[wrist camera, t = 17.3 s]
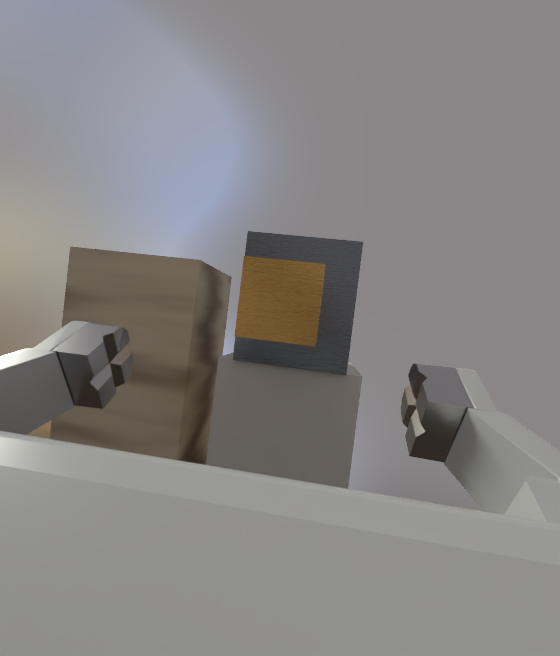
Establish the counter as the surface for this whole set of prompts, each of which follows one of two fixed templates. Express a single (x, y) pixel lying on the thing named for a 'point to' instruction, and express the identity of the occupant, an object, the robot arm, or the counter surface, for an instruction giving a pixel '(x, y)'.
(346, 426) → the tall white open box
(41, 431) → the counter surface
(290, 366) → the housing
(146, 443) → the tall pedestal
